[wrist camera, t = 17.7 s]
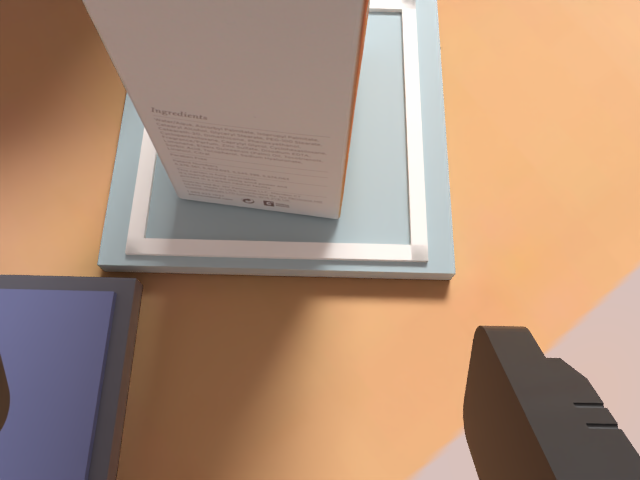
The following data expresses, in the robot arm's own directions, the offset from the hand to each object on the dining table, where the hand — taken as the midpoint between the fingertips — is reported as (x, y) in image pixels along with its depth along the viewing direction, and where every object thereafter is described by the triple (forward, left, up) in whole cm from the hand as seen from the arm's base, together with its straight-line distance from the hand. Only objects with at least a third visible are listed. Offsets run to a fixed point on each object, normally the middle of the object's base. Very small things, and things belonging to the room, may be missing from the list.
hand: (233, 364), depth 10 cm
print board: (0, +11, -11) cm, 16 cm away
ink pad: (-9, 0, -11) cm, 14 cm away
